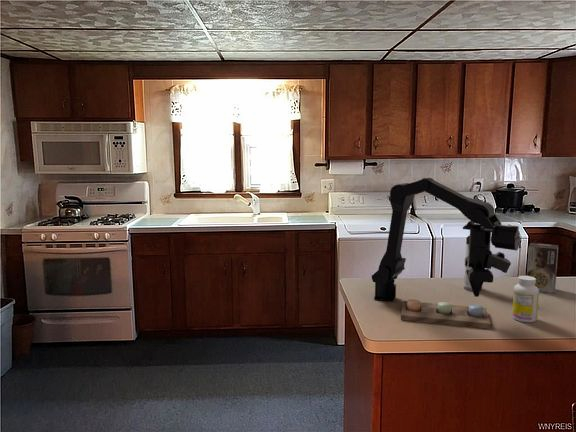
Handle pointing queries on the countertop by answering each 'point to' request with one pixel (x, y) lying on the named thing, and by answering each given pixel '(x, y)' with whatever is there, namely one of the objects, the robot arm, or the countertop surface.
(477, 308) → the slate button
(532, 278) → the supplement bottle
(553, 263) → the coffee box
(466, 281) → the travel mug
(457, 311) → the button panel
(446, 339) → the countertop surface
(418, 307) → the terracotta button
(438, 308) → the sage button
